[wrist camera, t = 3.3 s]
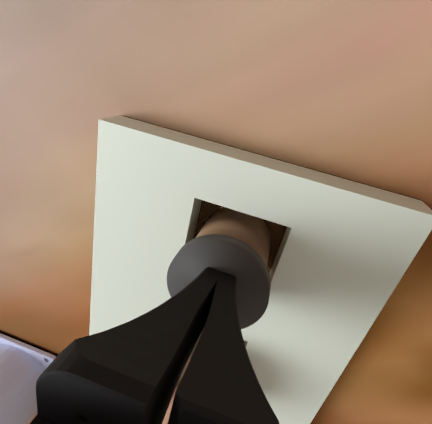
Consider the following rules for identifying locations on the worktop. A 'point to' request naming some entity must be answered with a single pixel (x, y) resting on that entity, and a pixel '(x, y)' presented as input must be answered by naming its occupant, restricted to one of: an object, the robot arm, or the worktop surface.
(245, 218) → the plug black
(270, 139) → the worktop surface
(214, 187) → the socket board
